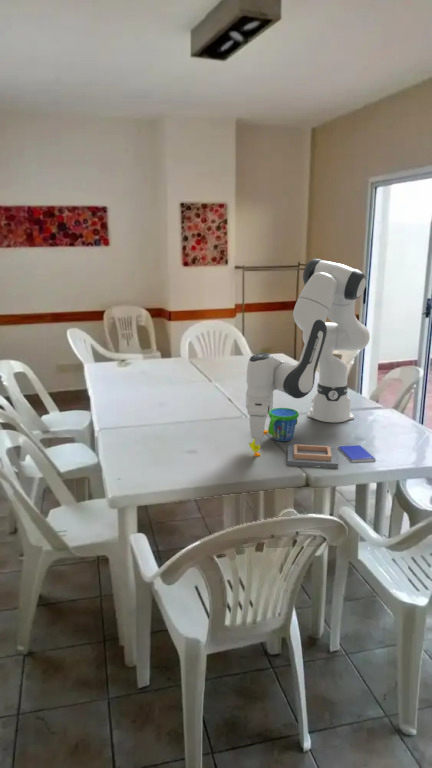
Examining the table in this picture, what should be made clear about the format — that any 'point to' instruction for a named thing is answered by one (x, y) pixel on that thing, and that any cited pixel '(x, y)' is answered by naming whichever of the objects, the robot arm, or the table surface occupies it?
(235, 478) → the table surface
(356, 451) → the hard drive
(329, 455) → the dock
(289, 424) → the snack cup
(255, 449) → the toy figure
